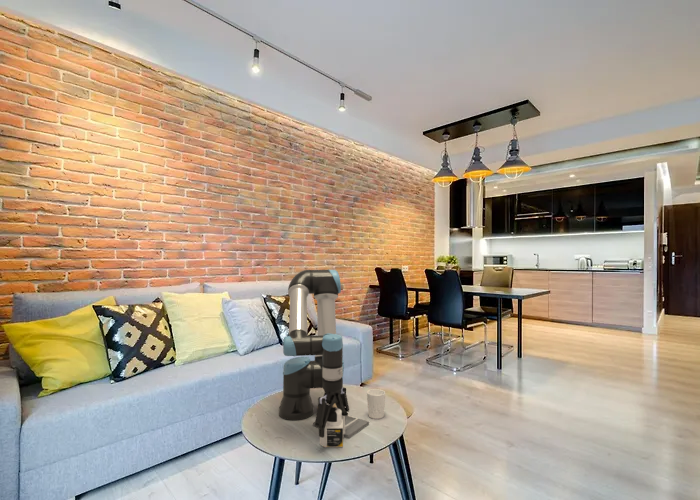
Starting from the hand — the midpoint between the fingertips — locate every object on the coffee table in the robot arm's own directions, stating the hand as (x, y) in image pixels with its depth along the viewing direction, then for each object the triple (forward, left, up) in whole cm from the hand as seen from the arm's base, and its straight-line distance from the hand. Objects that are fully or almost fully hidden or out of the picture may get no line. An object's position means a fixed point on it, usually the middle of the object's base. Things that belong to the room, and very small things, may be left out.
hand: (332, 438), depth 128 cm
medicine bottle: (0, 0, -2) cm, 2 cm away
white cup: (+1, +29, -2) cm, 29 cm away
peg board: (-6, +13, -1) cm, 14 cm away
